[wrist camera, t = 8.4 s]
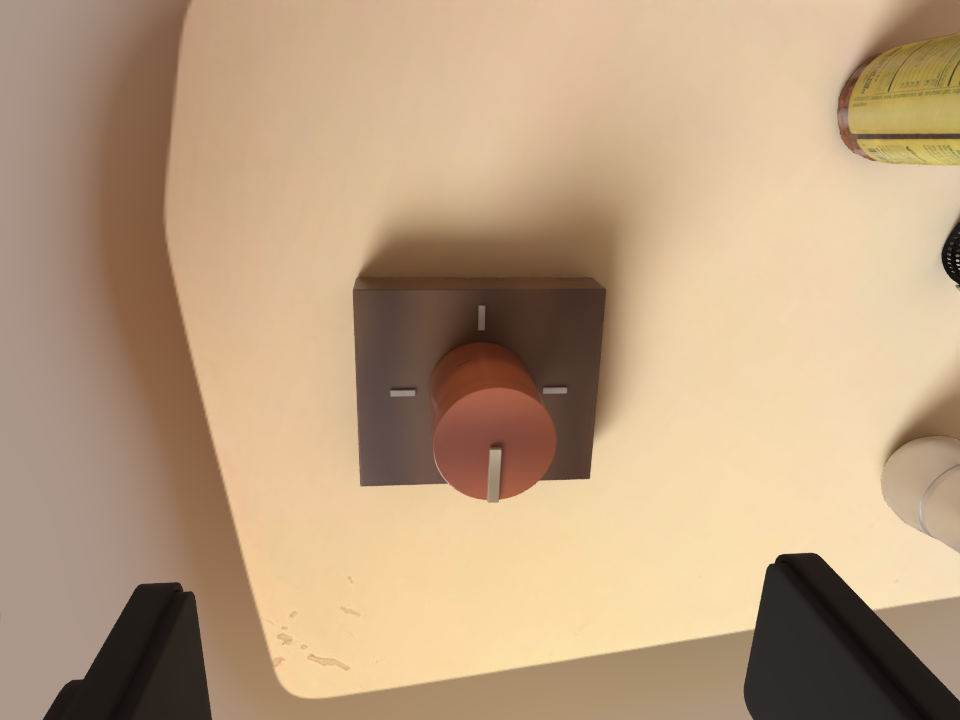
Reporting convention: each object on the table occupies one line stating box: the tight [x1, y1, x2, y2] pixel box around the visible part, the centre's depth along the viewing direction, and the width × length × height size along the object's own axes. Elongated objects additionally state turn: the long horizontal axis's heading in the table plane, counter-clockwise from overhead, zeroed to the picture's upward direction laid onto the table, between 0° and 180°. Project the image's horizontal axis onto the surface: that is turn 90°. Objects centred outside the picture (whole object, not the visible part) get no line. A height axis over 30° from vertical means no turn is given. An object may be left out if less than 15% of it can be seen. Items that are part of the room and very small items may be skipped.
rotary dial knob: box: [428, 342, 557, 502], centre depth 36 cm, size 6×6×7 cm
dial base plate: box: [353, 278, 606, 486], centre depth 40 cm, size 14×12×3 cm
